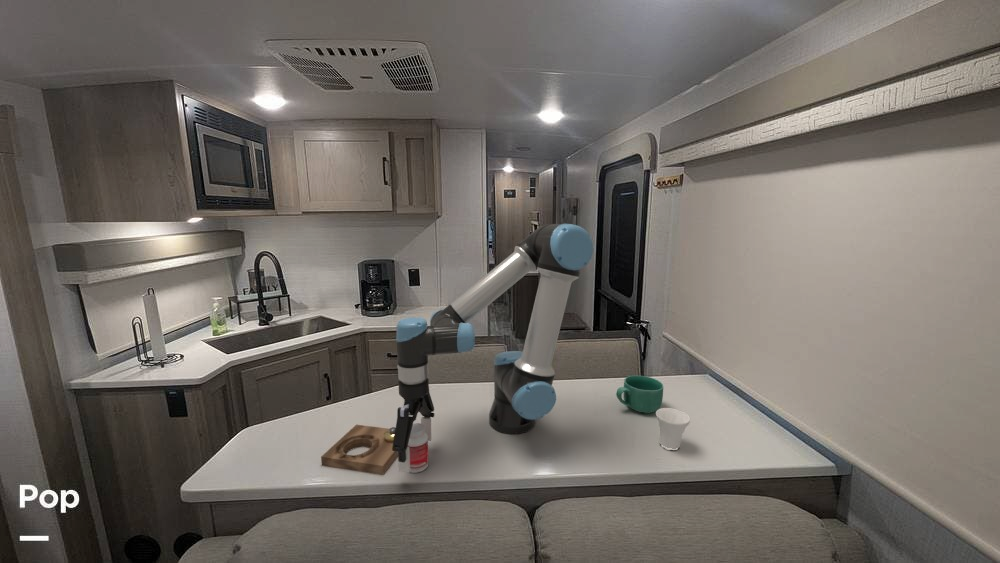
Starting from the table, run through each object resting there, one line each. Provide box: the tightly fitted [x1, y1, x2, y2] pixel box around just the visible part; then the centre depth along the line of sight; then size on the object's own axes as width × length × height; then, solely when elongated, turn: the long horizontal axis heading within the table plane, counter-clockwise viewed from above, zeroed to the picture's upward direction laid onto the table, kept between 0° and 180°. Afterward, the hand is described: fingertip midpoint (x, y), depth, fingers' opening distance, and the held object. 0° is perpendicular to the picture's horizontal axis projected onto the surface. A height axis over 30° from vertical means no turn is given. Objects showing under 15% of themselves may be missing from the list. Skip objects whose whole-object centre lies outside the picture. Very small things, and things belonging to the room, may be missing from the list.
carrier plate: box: [320, 424, 398, 475], centre depth 104 cm, size 18×16×2 cm
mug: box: [615, 375, 664, 414], centre depth 127 cm, size 17×13×10 cm
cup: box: [655, 407, 691, 449], centre depth 105 cm, size 9×9×10 cm
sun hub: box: [384, 426, 396, 443], centre depth 106 cm, size 5×5×3 cm
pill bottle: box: [407, 422, 430, 474], centre depth 97 cm, size 6×6×11 cm
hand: (416, 454), depth 97 cm, fingers open, 13 cm apart
